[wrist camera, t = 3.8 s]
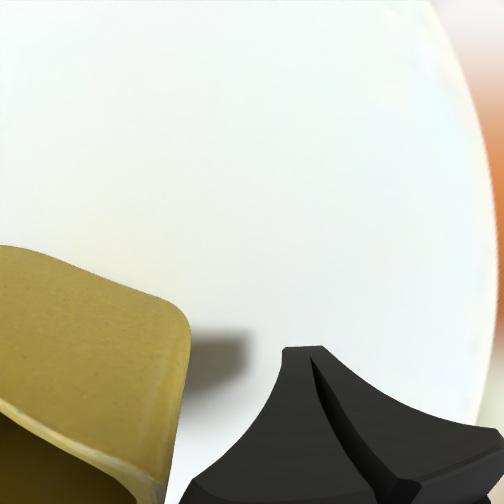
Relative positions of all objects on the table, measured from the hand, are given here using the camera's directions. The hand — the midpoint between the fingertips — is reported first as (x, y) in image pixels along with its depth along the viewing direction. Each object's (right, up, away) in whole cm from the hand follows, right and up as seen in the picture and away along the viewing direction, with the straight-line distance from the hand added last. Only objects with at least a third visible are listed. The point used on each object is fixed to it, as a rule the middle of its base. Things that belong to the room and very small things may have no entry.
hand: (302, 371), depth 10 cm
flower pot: (-8, 0, +3) cm, 8 cm away
